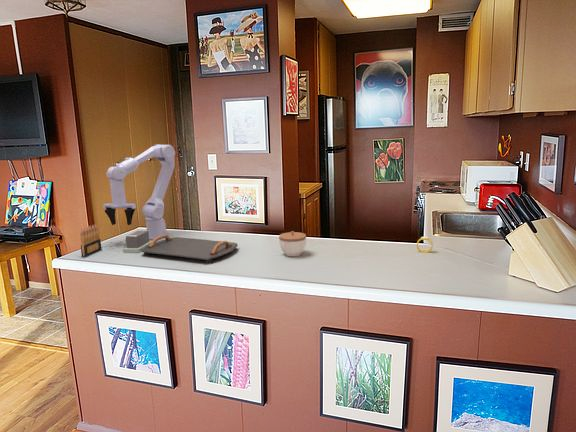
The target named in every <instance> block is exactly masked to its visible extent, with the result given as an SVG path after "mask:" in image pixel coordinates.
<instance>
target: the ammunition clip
mask: <svg viewBox="0 0 576 432" xmlns="http://www.w3.org/2000/svg"><path fill="white" fill-rule="evenodd" d="M80 244H81V245H80V252H81V258H88V257H90V256H92V255H94V254H96V253H98V252H100V251H102V250H103V249H102V248H103V247H102V242H101V238H100V235H99V228H98V225H97V223H94V224H92V225H89V226H86V227H83V228H80Z"/></svg>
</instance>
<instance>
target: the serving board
mask: <svg viewBox="0 0 576 432" xmlns="http://www.w3.org/2000/svg"><path fill="white" fill-rule="evenodd" d="M161 239H162V240H161ZM151 241H152V242H151V244H150V245H148V246H146V247H145V248H144V249H142V251H141V252H140V253H143V256H149V255H150V254H157V255H162V256H163V255H164V256H171V257H180V258H187V259H197V260H203V261H205V262H206V264H211V263H212V261H213V260H212V259H216V258H219V257H222V256H225V255H227V254H230V253H231V252H232V251H233V252H234V251H236V250H237V247H238V243H237V242H230V241H227V240H212V239H211V240H210V239H201V238H190V237H182V236H181V237H170V236H168V235H161V236H158V237H156V238H154V239H151Z"/></svg>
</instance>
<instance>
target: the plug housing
mask: <svg viewBox="0 0 576 432" xmlns="http://www.w3.org/2000/svg"><path fill="white" fill-rule="evenodd" d="M149 241H150V239H149V233H148V231H147V230H137V231H135V232H132V233H130V234H128V235H126V236H125V244H126V247H127V248H139V247H141V246H143V245H145V244H146V243H148V242H149Z"/></svg>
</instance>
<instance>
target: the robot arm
mask: <svg viewBox="0 0 576 432" xmlns="http://www.w3.org/2000/svg"><path fill="white" fill-rule="evenodd" d="M176 154H177V153H176V151H175V149H174V147H173V146H172V145H171V144H160V143H159V144H157V143H156V144H154V145H153V146H151V147H149V148H148V149H146V150H145V151H143V152H142V153H140V154H138V155H137V156H135V157H134V158H133V157H125V158H124V161H122V162H120V163H116V164H115V166H110V167H109V168H108V170H107V172H106V174H105V175H106V177H107V178H108V180H109V187H110V196H111V203H104V204H103V205H102V207H103V209H104V213H105V214H106V215H107V217H108V219H109V221H110V223H111V225H112V226H115V225H116V224H117V220H116V210H117V209H124V210H123V211H124V214H125V218H126V224H127V226H130V225H132V221H133V216H134V213H135V211H136V208H137V206H136V205H137V204H136V203H130V202H127V199H126V189H125V182H124V179H125V178H126V176H127V175H129V174H131V173H133V172H134V171H135V170H137V169H138V167H139V165H141V164H143V163H145V162H146V161H148V160H150V159H151V158H155V159H157V160H158V162H159V163H160V165H161V169H160V172H159V173H158V177H157V180H156V183H155V185H154V188H153V191H152V194H151V197H150V198H148V199H147V200H146V203H145V205H143V207H142V210H141V214H142V215H143V217H145V226H146V231H148V233H149V240H153V239H154V238H156V237H158V236H161V235H167V236H168V235H169V233H167V225H166V220H165V219H164V218H163V216H164V214H165V213H164V212H165V211H164V210H165V204H164V198H165V195H166V193H167V189H168V187H169V184H170V181H171V179H172V176H173V172H174V169H175V167H176V166H175V165H176V163H175V161H176V159H175V156H176Z"/></svg>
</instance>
